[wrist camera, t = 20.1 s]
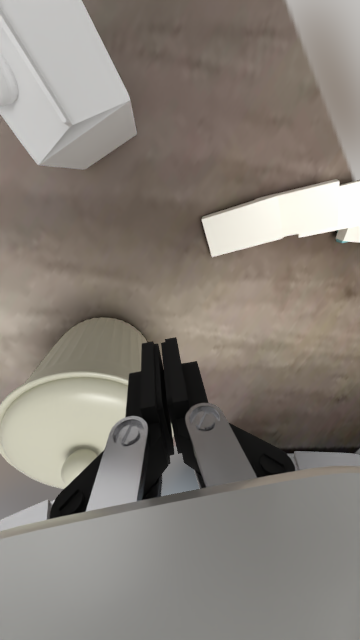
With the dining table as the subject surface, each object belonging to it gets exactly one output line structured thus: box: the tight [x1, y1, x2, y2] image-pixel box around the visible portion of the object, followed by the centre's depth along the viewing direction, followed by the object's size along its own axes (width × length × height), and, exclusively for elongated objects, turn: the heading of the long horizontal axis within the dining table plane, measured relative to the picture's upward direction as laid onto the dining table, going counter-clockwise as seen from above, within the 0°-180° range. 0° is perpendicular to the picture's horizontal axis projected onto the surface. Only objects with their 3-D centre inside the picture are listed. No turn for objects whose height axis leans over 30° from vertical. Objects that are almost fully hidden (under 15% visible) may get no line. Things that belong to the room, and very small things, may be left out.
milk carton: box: [0, 0, 137, 170], centre depth 19 cm, size 7×7×19 cm
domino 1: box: [202, 194, 283, 257], centre depth 33 cm, size 5×2×9 cm
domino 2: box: [255, 179, 339, 237], centre depth 32 cm, size 5×2×9 cm
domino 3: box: [298, 180, 360, 237], centre depth 32 cm, size 5×2×9 cm
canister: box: [0, 317, 174, 489], centre depth 32 cm, size 18×18×21 cm
